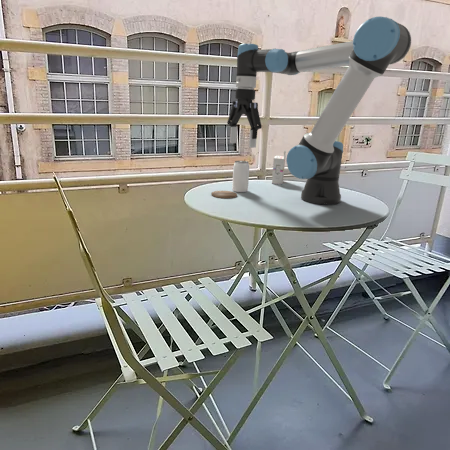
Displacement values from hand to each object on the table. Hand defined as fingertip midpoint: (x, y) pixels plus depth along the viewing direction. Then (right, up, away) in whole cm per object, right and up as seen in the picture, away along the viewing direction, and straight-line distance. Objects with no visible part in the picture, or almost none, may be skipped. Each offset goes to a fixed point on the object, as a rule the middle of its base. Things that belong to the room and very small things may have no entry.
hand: (242, 145), depth 156 cm
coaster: (-7, -20, -2) cm, 21 cm away
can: (-1, -18, +6) cm, 19 cm away
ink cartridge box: (+17, -12, +26) cm, 33 cm away
